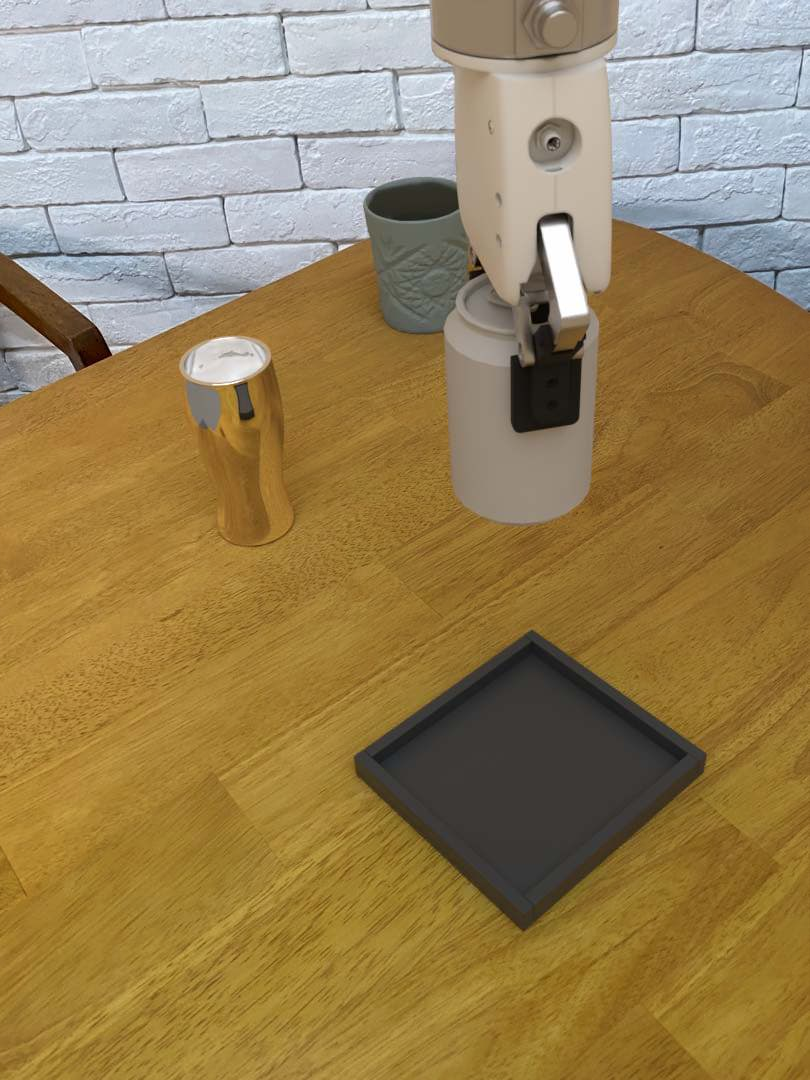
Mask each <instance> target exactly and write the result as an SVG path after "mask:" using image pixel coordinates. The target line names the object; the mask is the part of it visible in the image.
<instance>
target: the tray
mask: <svg viewBox="0 0 810 1080" xmlns="http://www.w3.org/2000/svg"><path fill="white" fill-rule="evenodd" d="M707 756H708V754H707V752H705V751H704V750H702V749H701V748H700V747H698V746H697V745H695V744H694V743H693V742H691V741H690V740H688V739H687V738H686V737H684V736H683V735H682V734H680V733H678V732H677V731H676V730H674V729H673V728H672V727H670V726H669V725H667V724H666V723H664V721H662V720H660V719H659V718H657V717H656V716H655V715H653V714H652V713H650V712H649V711H648V710H647V709H645V708H643V706H641V705H639V704H638V703H637V702H635V701H634V700H632V699H631V698H629V697H628V696H626V695H625V694H624V693H623V692H621V691H619V690H618V689H617V688H615V687H614V686H613V685H611V684H610V683H608V682H607V681H606V680H605V679H603V678H601V677H600V676H598V675H597V674H596V673H594V672H593V671H591V670H590V669H588V668H587V667H586V666H585V665H583V664H582V663H580V662H579V661H578V660H576V659H575V658H573V657H572V656H570V655H569V654H568V653H566V652H565V651H563V650H562V649H561V648H560V647H558V646H557V645H555V644H554V643H552V642H550V640H548V639H546V638H545V637H544V636H543V635H541V634H539V633H538V632H536V631H535V630H534V629H530V630H528V632H526V633H525V634H524V635H521V636H520V637H519V638H518V639H516V640H515V641H514V642H512V643H511V644H510V645H508V646H506V647H505V648H504V649H502V650H501V651H499V652H498V653H497V654H495V655H494V656H493V657H491V658H490V659H489V660H487V661H486V662H484V663H483V664H481V665H480V666H478V667H477V668H476V669H474V670H473V671H472V672H470V673H468V674H467V675H466V676H465V677H462V679H460V680H459V681H457V682H456V683H454V684H453V685H452V686H451V687H449V688H447V689H446V690H445V691H443V692H441V694H439V695H438V696H437V697H435V698H434V699H432V700H431V701H429V702H428V703H427V704H425V705H424V706H422V707H421V708H420V709H418V710H417V711H415V712H414V713H413V714H411V715H410V716H408V717H407V718H405V719H404V720H403V721H402V722H400V723H399V724H397V725H396V726H393V728H392V729H390V730H389V731H387V732H386V733H385V734H383V735H381V736H380V737H379V738H378V739H376V740H375V741H374V742H372V743H370V744H369V745H367V746H366V747H365V748H364V749H362V750H360V751H359V752H358V753H356V754H355V755H354V756H353V762H354V768H355V774H356V775H357V777H358V778H359V779H361V780H362V781H363V782H364V784H366V785H367V786H368V787H370V789H371V790H372V791H373V792H374V793H376V794H377V795H378V796H379V797H380V798H381V799H382V800H383V801H384V802H385V804H387V805H388V806H389V807H390V808H391V809H393V811H394V812H396V813H397V815H399V816H400V817H401V818H402V819H403V820H404V821H405V822H406V823H407V824H409V825H410V826H411V827H412V828H413V829H414V831H416V832H417V833H418V834H419V835H420V836H421V837H422V838H423V839H425V840H426V841H427V842H428V844H430V846H431V847H433V849H435V850H436V851H437V852H438V853H439V854H440V855H441V856H443V858H445V860H447V861H448V862H449V863H450V864H451V865H452V866H453V867H454V868H455V869H456V870H457V871H459V872H460V874H462V875H463V876H464V877H465V878H466V879H467V880H468V881H469V882H470V883H471V884H472V885H473V886H475V888H477V889H478V891H480V892H481V894H482V895H484V896H485V897H486V898H487V899H488V900H490V902H491V903H492V904H494V905H495V906H496V908H498V909H499V910H501V912H502V913H503V914H504V915H505V916H506V917H507V918H508V919H509V920H510V921H512V922H513V923H514V924H515V925H516V926H517V927H518V928H519V929H520V930H521V931H522V932H525V931H526V930H527V929H528V928H529V927H530V926H532V925H533V924H534V923H536V921H538V920H539V918H541V916H543V915H544V914H545V913H547V911H548V910H550V909H551V908H552V907H554V905H556V904H557V902H558V901H560V900H561V899H562V898H564V896H565V895H567V894H568V893H570V891H571V890H572V889H574V888H575V886H577V885H578V884H579V883H580V882H581V881H582V880H584V879H585V878H586V877H587V876H588V875H589V874H590V873H592V871H594V870H595V869H596V868H597V867H598V866H599V865H600V864H601V863H603V862H604V861H605V860H606V859H607V858H608V857H610V856H611V855H612V854H613V853H614V852H615V851H616V850H617V849H618V848H620V847H621V846H622V845H624V843H625V842H627V840H629V839H630V838H631V837H632V836H633V835H635V834H636V832H638V831H639V830H640V829H641V828H642V827H643V826H645V825H646V824H647V823H648V822H649V821H650V820H651V819H653V818H654V817H655V816H656V815H657V814H658V813H659V812H661V810H662V809H664V808H665V807H666V806H667V805H668V804H670V802H672V801H673V800H674V799H675V798H676V797H677V796H679V795H680V794H681V793H682V792H683V791H684V790H685V789H686V788H688V787H689V786H690V785H691V784H692V783H694V781H695V780H696V779H698V778H699V777H700V776H701V775H702V774H703V773H705V767H706V762H707Z"/></svg>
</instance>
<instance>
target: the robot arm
mask: <svg viewBox="0 0 810 1080" xmlns="http://www.w3.org/2000/svg"><path fill="white" fill-rule="evenodd" d="M428 2H429V24H430V46H431V47H430V48H431V52H432V53H433V55H434V56H435V57H436V58H437V59H439V60H440V61H441V62H443V63H447V64H448V65H450V66H453V69H452V74H453V76H454V80H453V81H454V83H453V85H454V87H453V93H454V94H453V97H454V98H453V104H454V105H453V108H454V109H453V111H454V114H453V117H454V119H453V120H454V122H453V123H454V156H455V177H456V182H457V193H458V203H459V210H460V215H461V220H462V223H463V226H464V229H465V231H466V234H467V236H468V238H469V246H468V253H469V254H468V256H469V262H470V265H471V267H472V269H473V270H468V282H469V281H470V280H472V279H474V278H476V277H478V276H480V275H482V274H484V273H486V274H487V276H488V278H489V279H490V281H491V283H492V285H493V287H494V289H495V290H496V292H497V294H498V295H499V296H500V297H501V298H502V299H503V300H505V301H506V302H507V303H509V304H511V305H512V311H513V319H514V327H515V334H516V342H517V350H518V355H512V356H510V372H511V424H512V427H513V429H514V430H515V432H517V433H525V432H531V431H537V430H543V429H549V428H555V427H561V426H568V425H573V424H575V423H576V422H577V421H578V420H579V416H580V394H581V371H582V357H583V356H584V340H586V331H587V329H588V327H589V325H590V313H589V308H588V306H589V305H588V299H586V295H585V292H586V293H587V294H590V293H593V294H595V295H598V294H599V295H600V294H603V293H604V292H605V291H606V290H607V289H608V287H609V285H610V282H611V276H612V275H611V274H612V247H613V246H612V245H613V244H612V243H613V241H612V238H613V236H612V234H613V139H612V138H613V136H612V135H613V134H612V116H611V115H612V114H611V100H610V87H609V86H610V85H609V77H608V69H607V62H606V59H605V57H604V56H606V55H608V54H609V53H610V52H611V51H612V50H613V49H614V48H615V47H616V45H617V43H618V32H619V31H618V30H619V13H620V0H429V1H428ZM477 268H481V269H477ZM474 269H476V270H474ZM536 276H543V277H544V281H545V286H546V289H542V290H535V291H529V292H524V287H523V283H527V281H528V279H529V277H536ZM584 290H585V291H584ZM544 303H549V304H550V314H549V317H548V321H549V324H545V325H540V327H539V328H538V329H537V331H536V332H535V333H534V335H533V331H532V323H531V315H530V307H529V306H531V305H537V304H544Z"/></svg>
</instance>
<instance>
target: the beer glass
mask: <svg viewBox="0 0 810 1080" xmlns="http://www.w3.org/2000/svg"><path fill="white" fill-rule="evenodd" d="M178 368H179V373H180V380H181V389H182V390H181V391H182V396H183V403H184V407H185V414H186V418H187V422H188V427H189V429H190V432H191V436H192V439H193V442H194V444H195V446H196V447H195V448H196V449H197V452H198V454H199V456H200V458H201V460H202V463H203V465H204V467H205V469H206V471H207V474H208V476H209V478H210V480H211V484H212V486H213V488H214V492H215V497H216V524H217V529H218V532H219V534H220V535H221V536H222V538H223V539H224V540H226V541H228V542H229V543H232V544H235V545H238V546H243V547H254V546H255V547H256V546H262V545H266V544H269V543H271V542H272V543H273V542H274V541H277V540H279V539H280V538H281V537H282V536H285V534H286V533H287V532H288V531H289V530H290V529H291V527H292V526H293V524H294V521H295V512H294V508H293V505H292V503H291V501H290V497H289V495H288V493H287V490H286V487H285V483H284V475H283V474H284V473H283V466H284V464H283V463H284V447H285V445H284V441H285V418H284V408H283V400H282V395H281V389H280V385H279V381H278V377H277V373H276V370H275V365H274V362H273V357H272V351H271V349H270V347H269V346H268V345H267V344H266V342H263V341H262V340H259V339H257V338H255V337H251V336H245V335H223V336H217V337H214V338H213V337H212V338H210V339H206V340H203V341H201V342H199V343H197V344H195V345H194V346H192V347H190V348H189V349H188V350H186V352H185V353H184V354H183V355H182V356H181V358H180V360H179V362H178Z"/></svg>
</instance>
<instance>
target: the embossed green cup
mask: <svg viewBox="0 0 810 1080" xmlns="http://www.w3.org/2000/svg"><path fill="white" fill-rule="evenodd" d="M362 207H363V212H364V218H365V223H366V230H367V232H368V236H369V241H370V246H371V252H372V258H373V265H374V270H375V273H376V282H377V286H378V292H379V301H380V308H381V313H382V317H383V319H384V321H385V323H386V324H387V326H389V327H391V328H392V329H394V330H397V331H398V332H404V333H406V334H407V333H408V334H415V335H416V334H418V335H427V334H428V335H429V334H435V333H436V334H437V333H441V332H444V325H445V322H446V320H447V317H448V315H449V314H450V313H451V312H452V311H453V310H454V309H455V308H456V303H455V301H456V298H457V295H458V292H459V290H460V289H462V288H463V287H464V286H465V285H466V284H467V283H468V282H469V280H468V277H469V270H468V269H469V265H470V258H469V254H468V253H469V245H470V240H469V238H468V236H467V234H466V231H465V229H464V226H463V223H462V220H461V215H460V210H459V203H458V193H457V181H455V180H452V179H448V178H444V177H437V176H436V177H435V176H413V177H405V178H399V179H395V180H392V181H388V182H386V183H383V184H381V185H378V186H377V187H375V188H373V189H371V190H370V191H369V192H368V193H367V194H366V195H365V197H364V198H363V202H362Z"/></svg>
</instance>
